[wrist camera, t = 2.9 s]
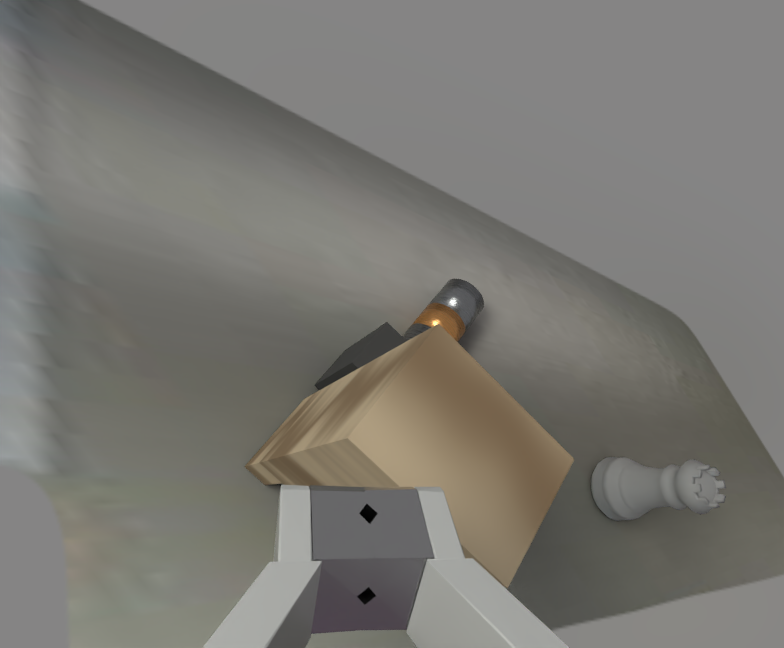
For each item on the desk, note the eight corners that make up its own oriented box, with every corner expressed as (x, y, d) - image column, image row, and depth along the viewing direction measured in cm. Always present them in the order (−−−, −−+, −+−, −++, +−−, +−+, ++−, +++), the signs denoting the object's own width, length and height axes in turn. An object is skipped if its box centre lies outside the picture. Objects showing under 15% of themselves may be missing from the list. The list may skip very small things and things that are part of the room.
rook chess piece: (631, 460, 42) (732, 453, 35) (635, 523, 40) (741, 528, 33) (585, 453, 40) (682, 443, 33) (588, 517, 38) (689, 522, 32)
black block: (398, 464, 33) (450, 457, 28) (314, 385, 32) (352, 362, 27) (424, 426, 35) (479, 413, 29) (345, 350, 34) (386, 322, 28)
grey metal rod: (337, 489, 31) (356, 488, 29) (299, 454, 31) (315, 450, 29) (467, 317, 39) (492, 304, 36) (438, 287, 38) (460, 272, 36)
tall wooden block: (335, 548, 30) (507, 587, 17) (244, 466, 29) (347, 437, 16) (387, 476, 33) (574, 459, 19) (304, 398, 32) (438, 323, 18)
